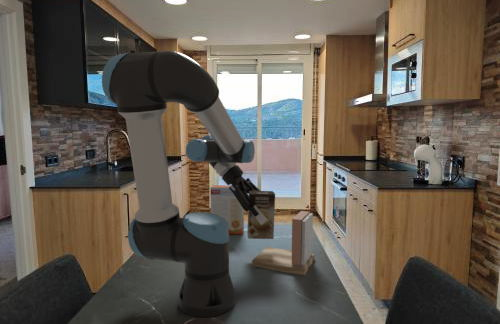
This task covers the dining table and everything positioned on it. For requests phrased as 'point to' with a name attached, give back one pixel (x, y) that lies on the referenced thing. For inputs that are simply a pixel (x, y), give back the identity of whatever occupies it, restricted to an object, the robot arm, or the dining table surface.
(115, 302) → the dining table surface
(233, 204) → the cracker box
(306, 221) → the bookend
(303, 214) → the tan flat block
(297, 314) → the dining table surface
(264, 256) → the shelf board
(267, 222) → the coffee box
